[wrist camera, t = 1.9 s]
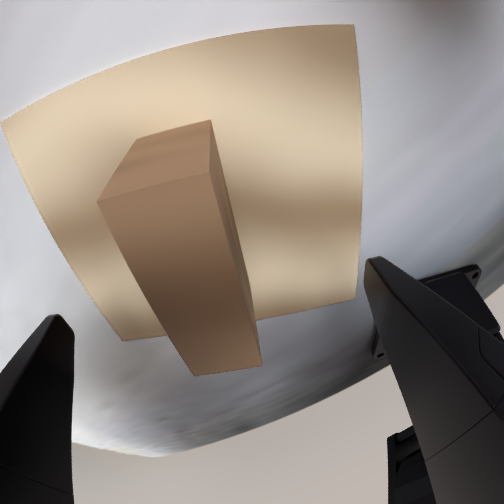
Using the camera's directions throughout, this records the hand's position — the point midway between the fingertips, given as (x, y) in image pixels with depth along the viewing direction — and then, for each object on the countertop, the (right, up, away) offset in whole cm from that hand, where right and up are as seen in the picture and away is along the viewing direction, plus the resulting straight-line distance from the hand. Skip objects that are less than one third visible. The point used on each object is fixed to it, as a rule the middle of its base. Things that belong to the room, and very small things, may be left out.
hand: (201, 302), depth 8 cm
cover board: (-1, +3, +4) cm, 5 cm away
